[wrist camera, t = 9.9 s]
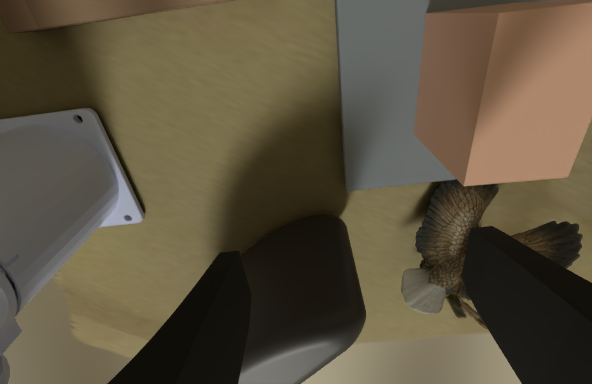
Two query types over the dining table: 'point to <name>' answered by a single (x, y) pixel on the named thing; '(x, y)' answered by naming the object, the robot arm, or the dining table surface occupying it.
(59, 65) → the dining table surface
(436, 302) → the eagle figurine
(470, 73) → the terracotta block
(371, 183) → the mat
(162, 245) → the dining table surface
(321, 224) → the dark rounded block
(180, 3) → the brown wooden frame
